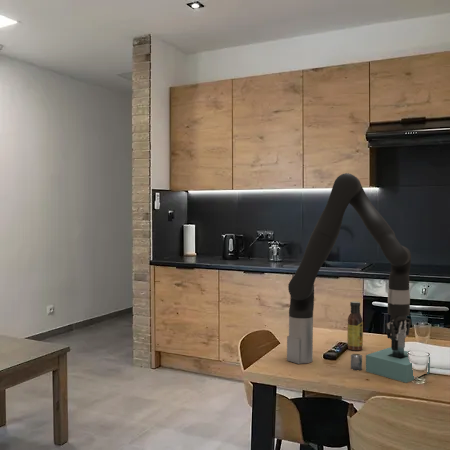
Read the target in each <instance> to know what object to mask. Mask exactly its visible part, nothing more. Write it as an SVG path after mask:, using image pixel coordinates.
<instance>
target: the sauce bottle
mask: <svg viewBox="0 0 450 450" xmlns="http://www.w3.org/2000/svg"><path fill="white" fill-rule="evenodd" d="M349 306H350V313H349V315H348V317H347V349H348V350H350V351H355V352H356V351H363V346H364V344H363V341H364V339H363V338H364V334H363V333H364V320H363V317H362V314H361V309H360V308H361V302H360V301H353V300H352V301H350V305H349Z"/></svg>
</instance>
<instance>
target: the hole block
mask: <svg viewBox="0 0 450 450" xmlns="http://www.w3.org/2000/svg"><path fill="white" fill-rule="evenodd" d="M408 352H409V351H408V350H404V358H402V359H399V358H395V357H392V349H391V346H390V347H386V348H383V349H380V350H378V351H374V352H371V353H368V354H367V353H366V355H365V372H367V373H371V374H374V375H377V376H380V377H384V378H388V379H392V380H394V381H397V382H398V381H399V382H402V383H405V384H407V383H410V382H412V381H414V376H413V370H412V363H410V362H409V359H408V354H407V353H408ZM430 369H431V356H429V363H428V372H427V375H429V374H430V372H431V370H430Z"/></svg>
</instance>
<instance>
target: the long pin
mask: <svg viewBox="0 0 450 450" xmlns="http://www.w3.org/2000/svg"><path fill="white" fill-rule="evenodd" d="M394 331H397V330H394ZM395 336H396V333H395ZM404 351H405V348H404V329H401V331H400V334H399V336H398V350H397V351H395V350H392V357H395V358H399V359H402V358H404Z"/></svg>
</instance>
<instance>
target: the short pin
mask: <svg viewBox="0 0 450 450" xmlns="http://www.w3.org/2000/svg"><path fill="white" fill-rule="evenodd" d="M350 369H351V370H352V369H353V371H357V370H359V371H362V369H363V355H362V354H359V353H352V354H350Z"/></svg>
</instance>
